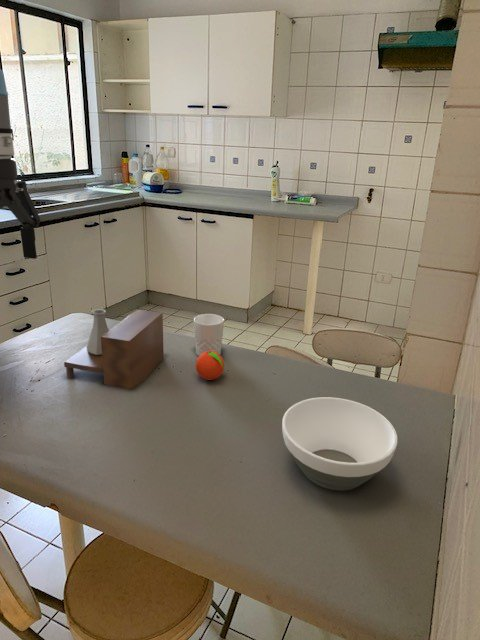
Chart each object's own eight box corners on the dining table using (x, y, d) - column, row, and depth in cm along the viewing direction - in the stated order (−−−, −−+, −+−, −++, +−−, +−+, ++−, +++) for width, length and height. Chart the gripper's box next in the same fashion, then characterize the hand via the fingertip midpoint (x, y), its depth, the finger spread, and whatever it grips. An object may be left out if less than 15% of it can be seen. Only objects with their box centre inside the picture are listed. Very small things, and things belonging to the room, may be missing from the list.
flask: (81, 347, 114) (77, 309, 111) (108, 340, 119) (106, 303, 115) (94, 358, 109) (91, 319, 106) (122, 350, 114) (120, 312, 110)
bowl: (408, 474, 84) (418, 430, 80) (348, 532, 71) (356, 483, 67) (321, 426, 96) (326, 386, 93) (256, 468, 83) (258, 423, 80)
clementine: (232, 380, 113) (234, 353, 110) (212, 390, 108) (212, 362, 105) (210, 368, 118) (211, 343, 115) (189, 377, 113) (189, 351, 110)
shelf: (66, 381, 109) (60, 330, 104) (105, 349, 125) (101, 304, 120) (132, 393, 105) (129, 341, 100) (163, 358, 121) (162, 312, 116)
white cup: (222, 360, 122) (223, 325, 118) (192, 359, 122) (192, 324, 118) (223, 347, 129) (224, 314, 125) (195, 346, 129) (195, 313, 125)
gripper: (-42, 161, 75) (-21, 285, 83) (51, 155, 98) (60, 253, 106) (-80, 158, 77) (-56, 280, 85) (20, 153, 99) (32, 250, 108)
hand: (9, 265), depth 96 cm, fingers open, 13 cm apart
